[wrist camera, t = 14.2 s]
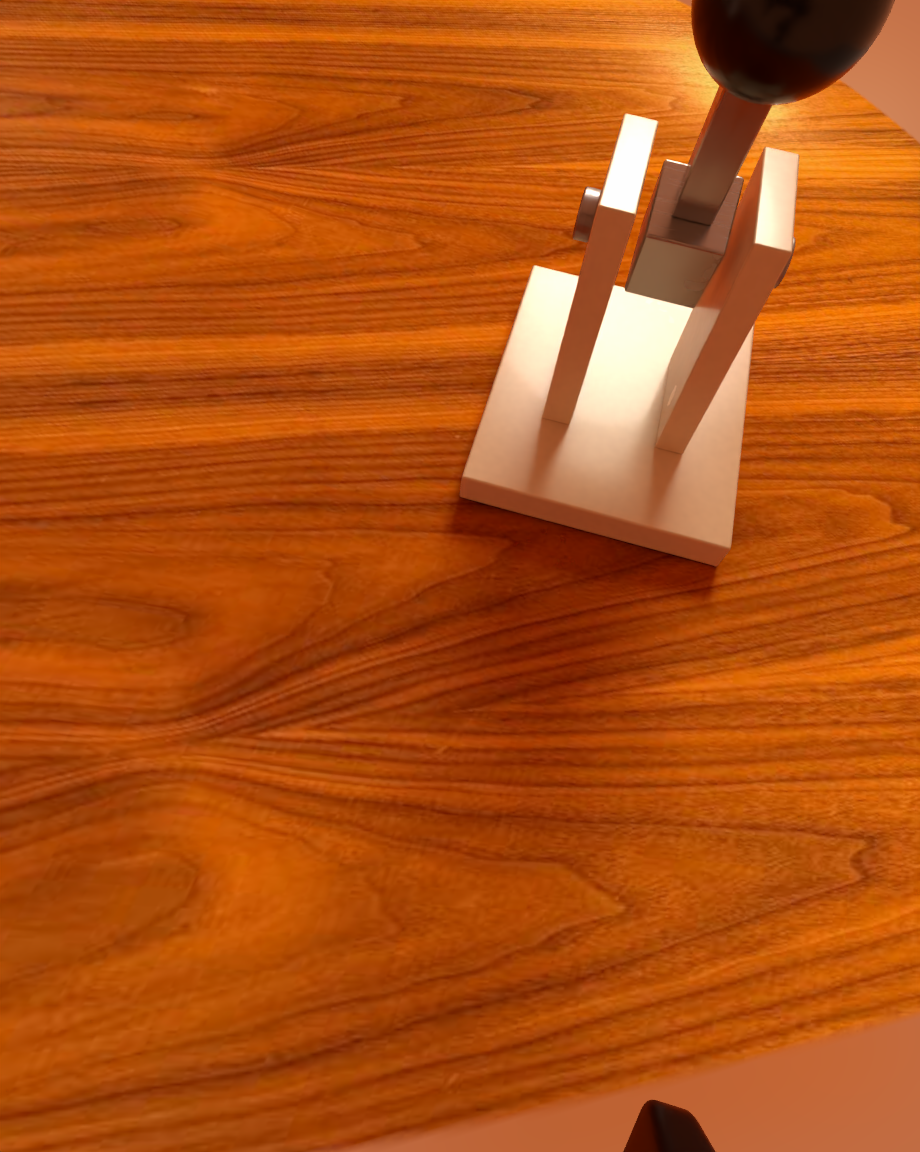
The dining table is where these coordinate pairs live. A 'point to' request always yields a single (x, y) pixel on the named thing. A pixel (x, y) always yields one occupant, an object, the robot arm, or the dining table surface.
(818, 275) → the dining table surface
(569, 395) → the bracket
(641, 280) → the lever
